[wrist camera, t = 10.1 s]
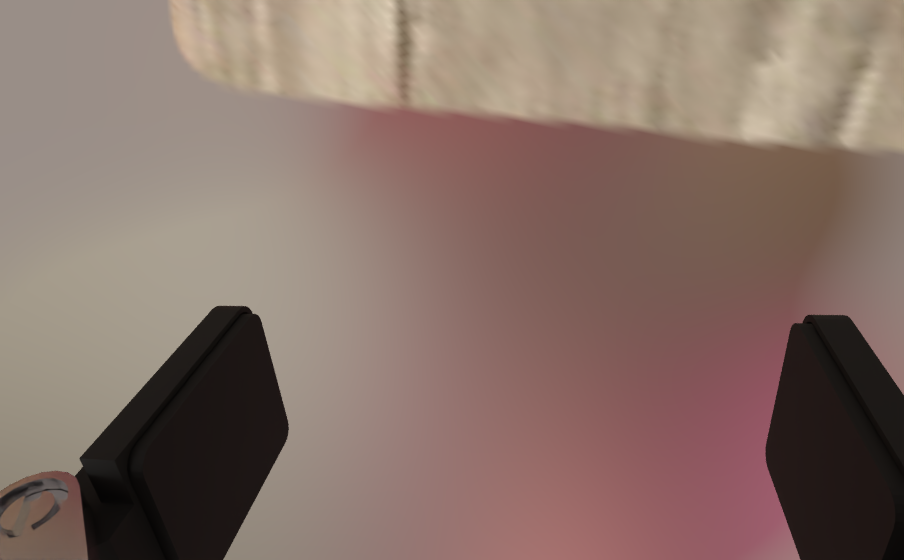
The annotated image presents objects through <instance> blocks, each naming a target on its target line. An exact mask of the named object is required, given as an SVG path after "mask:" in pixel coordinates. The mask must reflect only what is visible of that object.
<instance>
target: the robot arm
mask: <svg viewBox="0 0 904 560" xmlns="http://www.w3.org/2000/svg"><path fill="white" fill-rule="evenodd" d="M288 430H289V427H288V420H287V416H286V412H285V408H284V405H283V401H282V397H281V393H280V390H279V386H278V382H277V379H276V375H275V371H274V367H273V363H272V360H271V356H270V352H269V348H268V345H267V341H266V337H265V333H264V330H263V327H262V322H261V319H260V317H259V316H258V315H256V314H252V311H251V310H250V309H249V308H248V307H246V306H217V307H215V308H213V309H212V310H211V311H210V313H209V314H208V315H207V316H206V317H205V318H204V320H202V322H201V323H200V324H199V325H198V326H197V327H196V328H195V329H194V331H193V332H192V333H191V334H190V335H189V336H188V337H187V338H186V339H185V341H184V342H183V343H182V344H181V345H180V346H179V347H178V348H177V350H176V351H175V352H174V353H173V354H172V355H171V356H170V357H169V359H168V360H167V361H166V362H165V363H164V364H163V365H162V366H161V367H160V369H159V370H158V371H157V372H156V373H155V374H154V375H153V377H152V378H151V379H150V380H149V381H148V382H147V383H146V384H145V385H144V387H143V388H142V389H141V390H140V391H139V392H138V393H137V394H136V396H135V397H134V398H133V399H132V400H131V401H130V402H129V404H127V406H126V407H125V408H124V409H123V410H122V411H121V412H120V413H119V415H118V416H117V417H116V418H115V419H114V420H113V421H112V422H111V424H110V425H109V426H108V427H107V428H106V429H105V430H104V432H102V434H101V435H100V436H99V437H98V438H97V439H96V440H95V441H94V443H93V444H92V445H91V446H90V447H89V448H88V449H87V451H86V452H85V453H84V454H83V455H82V456H81V457H80V461H81V463H82V465H83V467H82V469H81V470H80V471H79V472H78V473H77V474H76V475H75V476H73V475H71V474H70V473H68V472H62V471H49V472H41V473H38V474H35V475H31V476H28V477H25V478H23V479H21V480H19V481H17V482H15V483H13V484H10V485H9V486H7V487H6V488H4V489H3V490H1V491H0V560H223V559H224V557H225V555H226V553H227V551H228V549H229V548H230V546H231V544H232V542H233V540H234V538H235V536H236V534H237V533H238V531H239V529H240V527H241V525H242V523H243V521H244V519H245V518H246V516H247V514H248V512H249V510H250V508H251V506H252V504H253V502H254V501H255V499H256V497H257V495H258V493H259V491H260V489H261V487H262V486H263V484H264V482H265V480H266V478H267V476H268V474H269V472H270V470H271V468H272V466H273V464H274V463H275V461H276V459H277V457H278V455H279V454H280V452H281V450H282V448H283V446H284V444H285V442H286V440H287V436H288ZM766 462H767V467H768V470H769V473H770V476H771V478H772V481H773V484H774V487H775V490H776V492H777V495H778V498H779V501H780V503H781V506H782V509H783V512H784V514H785V517H786V520H787V523H788V526H789V529H790V531H791V534H792V537H793V540H794V543H795V545H796V548H797V551H798V554H799V556H800V559H801V560H904V395H903V394H902V392H901V391H900V389H899V388H898V387H897V385H896V383H895V382H894V381H893V379H892V378H891V376H890V375H889V373H888V372H887V370H886V369H885V368H884V366H883V365H882V363H881V362H880V360H879V359H878V357H877V356H876V355H875V353H874V352H873V350H872V349H871V347H870V346H869V345H868V343H867V342H866V340H865V339H864V337H863V336H862V334H861V333H860V331H859V330H858V329H857V327H856V326H855V324H854V323H853V321H852V320H851V319H850V318H849V317H848V316H845V315H808V316H806V317H805V319H804V321H803V323H800V324H799V323H798V324H797V323H795V324H793V325H792V327H791V330H790V334H789V339H788V343H787V348H786V353H785V358H784V362H783V367H782V372H781V376H780V381H779V386H778V391H777V395H776V400H775V405H774V410H773V414H772V419H771V424H770V429H769V433H768V439H767V443H766Z"/></svg>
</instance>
